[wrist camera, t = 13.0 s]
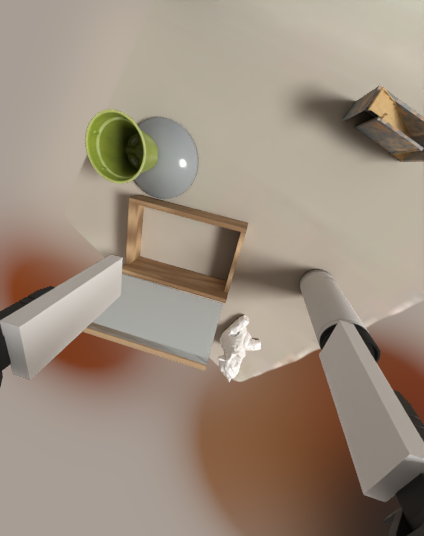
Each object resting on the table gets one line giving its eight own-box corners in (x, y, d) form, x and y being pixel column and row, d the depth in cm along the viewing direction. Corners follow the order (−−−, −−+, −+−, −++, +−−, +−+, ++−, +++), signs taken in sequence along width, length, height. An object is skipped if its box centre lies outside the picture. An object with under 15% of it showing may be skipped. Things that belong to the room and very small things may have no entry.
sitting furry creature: (263, 344, 54) (264, 388, 43) (230, 352, 57) (224, 396, 46) (246, 312, 51) (243, 352, 40) (213, 323, 54) (202, 362, 43)
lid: (65, 321, 32) (66, 326, 33) (206, 366, 31) (205, 370, 31) (119, 273, 44) (119, 277, 44) (223, 303, 42) (221, 307, 43)
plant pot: (108, 148, 41) (72, 144, 33) (141, 107, 37) (110, 91, 30) (143, 191, 43) (117, 196, 35) (178, 155, 39) (158, 153, 32)
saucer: (132, 110, 39) (129, 109, 38) (204, 127, 38) (203, 126, 37) (128, 188, 45) (125, 189, 44) (191, 205, 44) (189, 206, 43)
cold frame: (140, 194, 45) (121, 199, 38) (247, 223, 43) (246, 232, 37) (136, 258, 51) (118, 271, 44) (229, 285, 49) (225, 302, 43)
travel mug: (332, 264, 43) (384, 335, 25) (334, 294, 45) (383, 378, 28) (297, 270, 45) (323, 339, 27) (301, 298, 47) (327, 380, 29)
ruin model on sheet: (339, 123, 35) (366, 109, 26) (355, 101, 33) (389, 79, 25) (398, 164, 35) (444, 164, 27) (416, 145, 34) (470, 138, 25)
